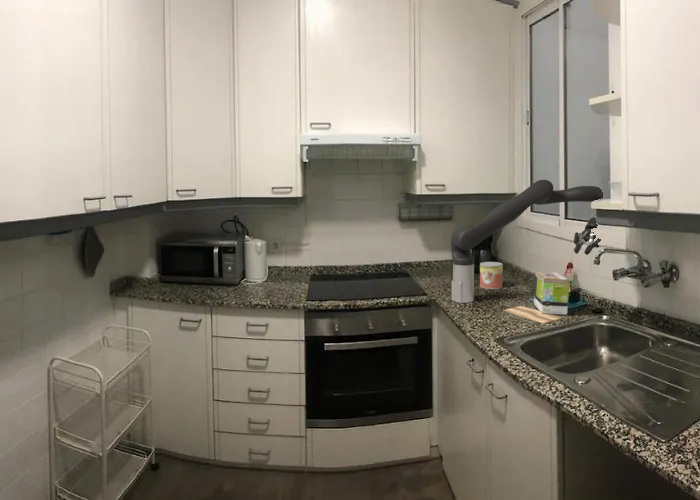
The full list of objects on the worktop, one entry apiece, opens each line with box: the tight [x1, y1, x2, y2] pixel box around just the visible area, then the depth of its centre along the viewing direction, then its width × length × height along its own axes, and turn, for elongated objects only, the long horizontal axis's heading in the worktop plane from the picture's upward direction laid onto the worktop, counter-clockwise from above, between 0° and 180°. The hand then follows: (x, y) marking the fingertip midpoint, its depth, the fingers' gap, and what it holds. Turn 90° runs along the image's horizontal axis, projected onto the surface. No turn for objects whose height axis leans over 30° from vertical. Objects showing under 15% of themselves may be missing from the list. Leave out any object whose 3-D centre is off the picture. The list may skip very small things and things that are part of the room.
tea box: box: [533, 271, 571, 315], centre depth 178 cm, size 15×10×15 cm, turn 168°
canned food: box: [479, 261, 504, 290], centre depth 222 cm, size 11×11×12 cm
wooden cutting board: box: [502, 305, 564, 324], centre depth 174 cm, size 11×20×1 cm, turn 28°
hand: (580, 252), depth 184 cm, fingers open, 4 cm apart
